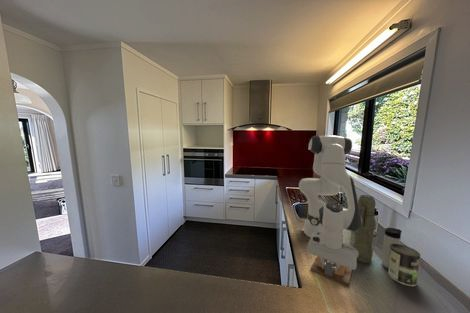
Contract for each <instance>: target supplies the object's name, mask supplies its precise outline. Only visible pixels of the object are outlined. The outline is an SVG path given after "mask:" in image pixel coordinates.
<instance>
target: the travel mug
mask: <svg viewBox="0 0 470 313" xmlns="http://www.w3.org/2000/svg"><path fill="white" fill-rule="evenodd" d="M401 235H402V230H401V229H399V228H393V227H386V228H384V237H383V247H382V256H381V266H383V267H384V268H385V269H387V270H388V269H389V258H390V245H391V244H400V245H401V238H402V237H401Z"/></svg>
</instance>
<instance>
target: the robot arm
mask: <svg viewBox="0 0 470 313" xmlns="http://www.w3.org/2000/svg"><path fill="white" fill-rule="evenodd" d="M308 147H309V151H310V152H311V153H312V154H314V158H313V165H312V171H313V172H314V174H316V175H317V176H319V178H318V177H317V178H315V177H305V178H301V179H300V180H299V183H298V189H299V191H300V193H302V194H303V196H304V197H305V198H306V200H307V203H308V208H307V209H308V210H307V215H306V216H307V217H306V219H305V220H304V226H303V228H301V232H303V231H304V232H303V233H304V234H306V235H305V236H307V237H308V238H310V239H309V240H308V243H307V247H306V250H307V251H306V252H308V254H311V255H313V256H316V257H317V256H318V257H320V260H321V262H322V263H323V264H322V267H324V268H325V263H326V262H325V261H324V259H326V260H329V261H331V262H334V263H336V265H337V266H334V267H333V271H334V272H337V269H338V268H339V267H340V265H342V266H345V267H347V268H350V269H352V271H354V270H356V269H357V265H358V264H357V262H358V260H357V259H356V258H357V257H358V250H357V249H355V248H354V247H353V245H351V246H350V245H348V244H346V243H344V233H343V232H344V230H346V231H350V232H353V233H355V231H357V230H358V229H360V228H361V226H362V219H361V215H360V211H359V207H358V196H357V191H356V190H357V189H356V186H355V182H354V181H355V180H354V179H353V177H352V176H350V175H349V174H348V172H347V169H346V156H347V155H349V154H351V151H352V148H353V140H352V139H351V138H350V137H347V136H340V135H333V134H332V135H313V136H312V137H310V139H309V143H308ZM341 188H342V189H343V190H344V192H345V195H346V197H345V198H346V201H347V208H345V207H344V208H343V206H341V205H339V204H337V203H325V201H323V200H322V199H319V196H336V195H338V194H339V193H340V190H341ZM354 249H355V250H354Z"/></svg>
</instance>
